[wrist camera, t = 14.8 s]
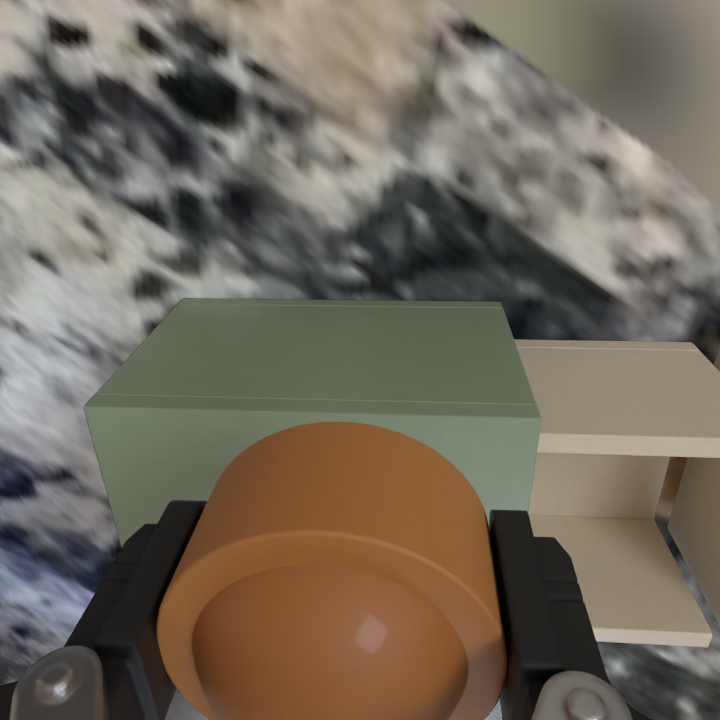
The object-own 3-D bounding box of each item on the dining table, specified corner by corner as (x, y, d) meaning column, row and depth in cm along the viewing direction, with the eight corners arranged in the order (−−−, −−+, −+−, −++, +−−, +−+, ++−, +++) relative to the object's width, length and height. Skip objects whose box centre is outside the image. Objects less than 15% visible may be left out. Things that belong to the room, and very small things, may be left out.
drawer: (878, 326, 25) (1055, 432, 18) (792, 532, 30) (905, 675, 23) (434, 320, 26) (442, 416, 20) (426, 518, 32) (429, 648, 25)
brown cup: (237, 602, 15) (158, 846, 11) (198, 398, 12) (67, 608, 8) (478, 613, 15) (506, 874, 10) (494, 402, 12) (543, 630, 7)
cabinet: (501, 300, 27) (542, 418, 18) (480, 517, 33) (504, 682, 24) (182, 297, 28) (82, 406, 19) (217, 507, 34) (151, 661, 25)
